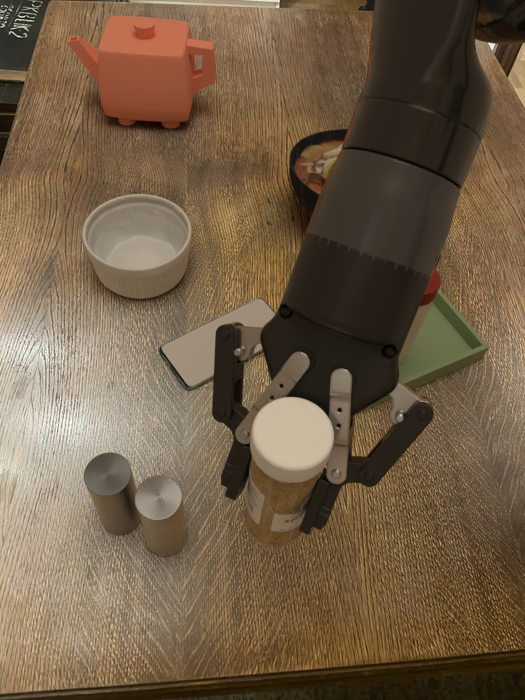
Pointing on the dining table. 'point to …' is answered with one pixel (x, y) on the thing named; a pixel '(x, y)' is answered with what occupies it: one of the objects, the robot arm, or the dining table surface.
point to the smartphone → (210, 343)
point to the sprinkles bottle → (285, 468)
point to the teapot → (147, 68)
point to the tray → (440, 346)
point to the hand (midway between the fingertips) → (270, 510)
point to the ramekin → (138, 244)
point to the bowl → (314, 164)
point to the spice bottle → (420, 315)
